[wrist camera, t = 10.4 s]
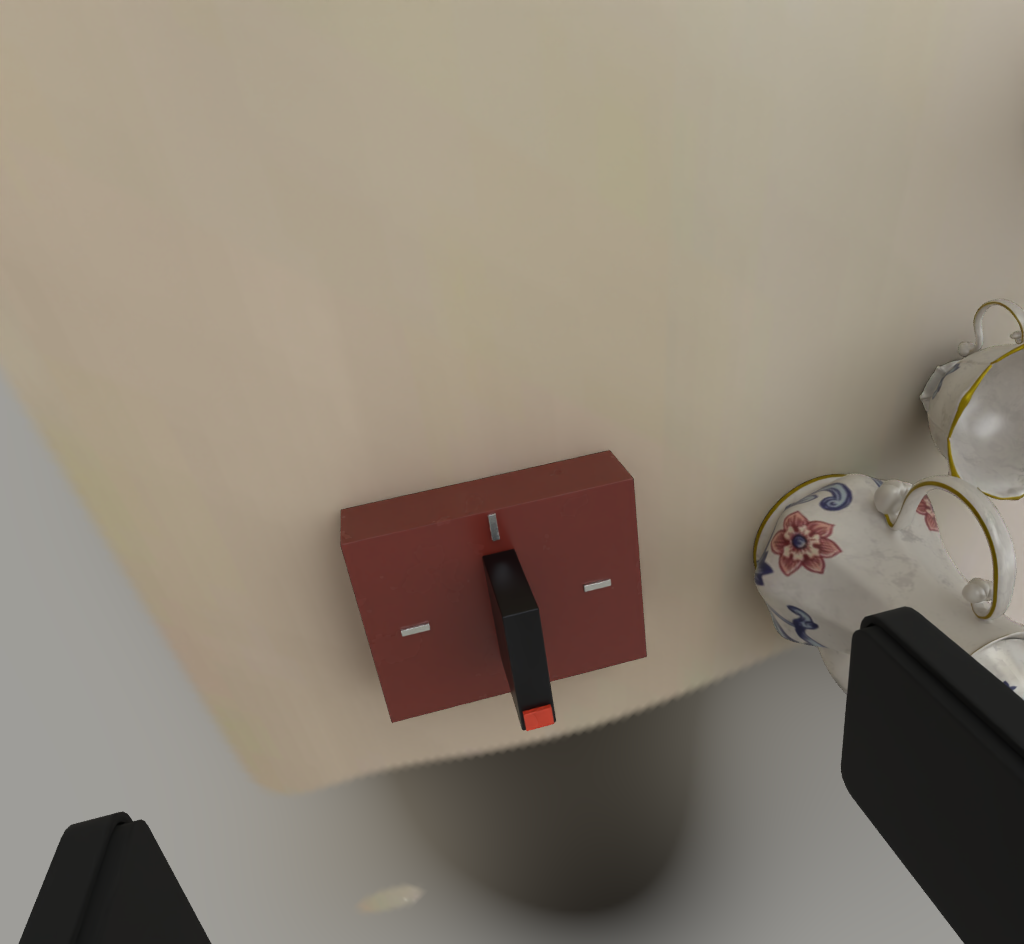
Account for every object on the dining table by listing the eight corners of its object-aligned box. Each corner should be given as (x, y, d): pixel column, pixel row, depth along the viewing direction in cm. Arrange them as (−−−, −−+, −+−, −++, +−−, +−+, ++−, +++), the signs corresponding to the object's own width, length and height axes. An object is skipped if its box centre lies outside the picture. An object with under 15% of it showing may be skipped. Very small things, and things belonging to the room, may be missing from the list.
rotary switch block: (609, 449, 38) (635, 479, 35) (625, 618, 43) (648, 658, 39) (340, 509, 36) (340, 546, 33) (388, 678, 41) (392, 725, 38)
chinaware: (928, 668, 52) (1185, 868, 38) (723, 740, 48) (922, 994, 34) (1001, 272, 40) (1421, 344, 26) (734, 327, 36) (1052, 448, 22)
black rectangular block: (481, 555, 35) (503, 620, 30) (514, 547, 35) (540, 611, 30) (501, 661, 38) (523, 735, 33) (531, 653, 38) (558, 726, 33)
